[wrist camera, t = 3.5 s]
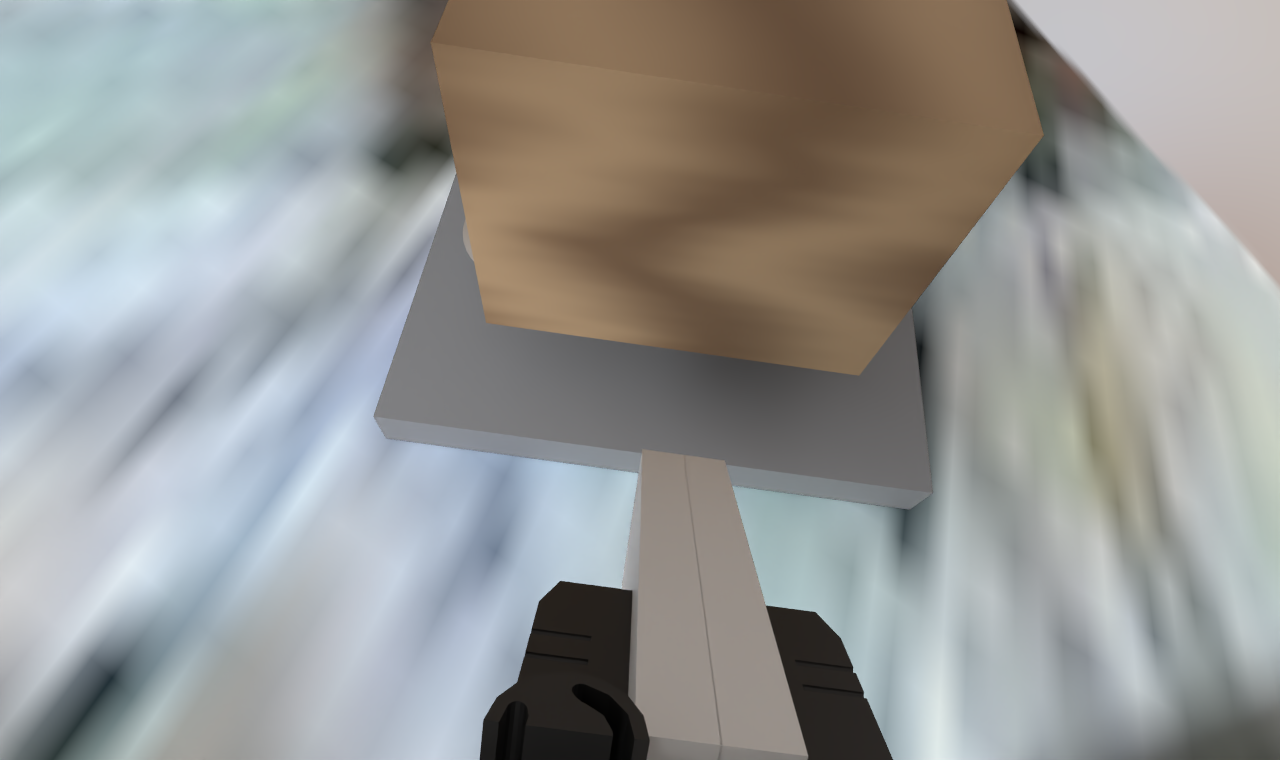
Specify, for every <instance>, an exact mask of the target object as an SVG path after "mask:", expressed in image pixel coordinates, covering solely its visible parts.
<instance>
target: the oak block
mask: <svg viewBox="0 0 1280 760" xmlns="http://www.w3.org/2000/svg"><path fill="white" fill-rule="evenodd" d="M431 46H432V51H433V56H434V61H435V66H436V71H437V76H438V81H439V87H440V92H441V97H442V102H443V107H444V112H445V117H446V122H447V127H448V132H449V137H450V142H451V147H452V152H453V158H454V163H455V168H456V173H457V178H458V183H459V188H460V193H461V198H462V203H463V208H464V213H465V218H466V219H465V222H464V226H463V242H464V245H465V248H466V251H467V253H468V254H469V256H470V258H471V259H472V260H473V261H474V264H475V269H476V274H477V279H478V284H479V289H480V295H481V300H482V305H483V310H484V315H485V320H486V323H489V324H497V325H504V326H511V327H518V328H525V329H532V330H539V331H546V332H553V333H560V334H567V335H575V336H582V337H589V338H596V339H603V340H610V341H617V342H624V343H631V344H638V345H645V346H653V347H660V348H667V349H674V350H681V351H688V352H695V353H702V354H709V355H716V356H723V357H731V358H738V359H745V360H752V361H759V362H766V363H773V364H780V365H787V366H794V367H801V368H808V369H816V370H823V371H830V372H837V373H844V374H851V375H858V376H859V375H860V374H861V373H862V371H863V370H864V369H865V367H866V366H867V365H868V364H869V362H870V361H871V360H872V358H873V357H874V356H875V354H876V353H877V352H878V351H879V349H880V348H881V347H882V345H883V344H884V343H885V341H886V340H887V339H888V337H889V336H890V335H891V334H892V332H893V331H894V330H895V328H896V327H897V326H898V324H899V323H900V322H901V321H902V319H903V318H904V317H905V315H906V314H907V313H908V311H909V310H910V309H911V308H912V306H913V305H914V304H915V302H916V301H917V300H918V298H919V297H920V296H921V295H922V293H923V292H924V291H925V289H926V288H927V287H928V285H929V284H930V283H931V282H932V280H933V279H934V278H935V276H936V275H937V274H938V272H939V271H940V270H941V268H942V267H943V266H944V265H945V263H946V262H947V261H948V259H949V258H950V257H951V255H952V254H953V253H954V252H955V250H956V249H957V248H958V246H959V245H960V244H961V242H962V241H963V240H964V239H965V237H966V236H967V235H968V233H969V232H970V231H971V229H972V228H973V227H974V226H975V224H976V223H977V222H978V220H979V219H980V218H981V216H982V215H983V214H984V213H985V211H986V210H987V209H988V207H989V206H990V205H991V203H992V202H993V201H994V199H995V198H996V197H997V196H998V194H999V193H1000V192H1001V190H1002V189H1003V188H1004V186H1005V185H1006V184H1007V183H1008V181H1009V180H1010V179H1011V177H1012V176H1013V175H1014V173H1015V172H1016V171H1017V170H1018V168H1019V167H1020V166H1021V164H1022V163H1023V162H1024V160H1025V159H1026V158H1027V157H1028V155H1029V154H1030V153H1031V151H1032V150H1033V149H1034V147H1035V146H1036V145H1037V144H1038V142H1039V141H1040V140H1041V138H1042V137H1043V136H1044V134H1043V130H1042V127H1041V123H1040V119H1039V116H1038V112H1037V109H1036V105H1035V101H1034V98H1033V94H1032V90H1031V87H1030V83H1029V80H1028V76H1027V72H1026V69H1025V65H1024V62H1023V58H1022V54H1021V51H1020V47H1019V43H1018V40H1017V36H1016V33H1015V29H1014V25H1013V22H1012V18H1011V14H1010V11H1009V7H1008V4H1007V0H448V3H447V5H446V8H445V10H444V12H443V15H442V17H441V19H440V22H439V24H438V26H437V29H436V31H435V33H434V36H433V38H432V41H431Z"/></svg>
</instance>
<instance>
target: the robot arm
mask: <svg viewBox="0 0 1280 760" xmlns="http://www.w3.org/2000/svg"><path fill="white" fill-rule="evenodd" d="M480 760H893V759H892V756H891V754H890V752H889V749H888V747H887V745H886V742H885V740H884V738H883V735H882V733H881V731H880V729H879V726H878V724H877V722H876V719H875V717H874V715H873V712H872V710H871V708H870V705H869V703H868V701H867V699H866V698H864V691H863V689H862V687H861V684H860V682H859V680H858V677H857V675H856V673H853V666H852V663H851V661H850V659H849V656H848V654H847V652H846V649H845V647H844V645H843V643H842V640H841V638H840V637H839V636H838V635H837V634H836V633H835V632H834V631H833V630H832V629H831V628H830V627H829V626H828V625H827V624H826V623H825V622H824V621H823V619H822V618H821V617H820V616H819V615H818V614H817V613H816V612H810V611H803V610H795V609H788V608H780V607H773V606H766V605H765V601H764V598H763V594H762V591H761V587H760V583H759V580H758V576H757V573H756V569H755V566H754V562H753V559H752V555H751V552H750V548H749V545H748V541H747V537H746V534H745V530H744V527H743V523H742V520H741V516H740V513H739V509H738V506H737V502H736V499H735V495H734V491H733V488H732V484H731V481H730V477H729V474H728V470H727V467H726V463H725V461H724V460H717V459H710V458H703V457H696V456H688V455H681V454H674V453H667V452H659V451H652V450H645V449H642V455H641V461H640V468H639V474H638V481H637V488H636V494H635V501H634V507H633V514H632V520H631V527H630V533H629V540H628V546H627V553H626V559H625V566H624V572H623V579H622V589H617V588H609V587H602V586H594V585H587V584H579V583H572V582H564V581H560V582H559V583H558V584H557V585H556V586H555V587H554V588H553V589H552V590H551V591H549V592H548V593H547V594H546V595H545V596H544V597H543V598H542V599H541V600H540V601H539V604H538V608H537V611H536V615H535V619H534V622H533V626H532V631H531V634H530V637H529V641H528V645H527V648H526V653H525V657H524V659H523V663H522V667H521V671H520V674H519V678H518V682H517V683H516V684H514V685H513V686H512V687H510V688H509V689H508V690H506V691H505V692H503V693H502V694H501V695H499V696H498V697H497V698H496V700H495V701H494V703H493V705H492V706H491V708H490V710H489V712H488V713H487V715H486V717H485V718H484V721H483V731H482V742H481V752H480Z"/></svg>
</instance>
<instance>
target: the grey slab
mask: <svg viewBox="0 0 1280 760" xmlns="http://www.w3.org/2000/svg"><path fill="white" fill-rule="evenodd" d="M465 219H466V218H465V213H464V208H463V203H462V198H461V193H460V188H459V183H458V178H457V173H456V176H455V179H454V181H453V184H452V187H451V190H450V193H449V196H448V199H447V202H446V205H445V208H444V211H443V214H442V217H441V220H440V223H439V225H438V228H437V231H436V234H435V237H434V240H433V243H432V246H431V249H430V252H429V255H428V258H427V261H426V264H425V267H424V269H423V272H422V275H421V278H420V281H419V284H418V287H417V290H416V293H415V296H414V299H413V302H412V305H411V308H410V311H409V313H408V316H407V319H406V322H405V325H404V328H403V331H402V334H401V337H400V340H399V343H398V346H397V349H396V352H395V355H394V357H393V360H392V363H391V366H390V369H389V372H388V375H387V378H386V381H385V384H384V387H383V390H382V393H381V396H380V399H379V401H378V404H377V407H376V410H375V413H374V416H373V417H374V419H375V420H376V422H377V424H378V425H379V427H380V429H381V430H382V432H383V434H384V436H385V437H386V438H387V439H394V440H401V441H409V442H416V443H423V444H431V445H438V446H446V447H453V448H460V449H468V450H475V451H482V452H490V453H497V454H504V455H512V456H519V457H526V458H534V459H541V460H548V461H556V462H563V463H570V464H578V465H585V466H593V467H600V468H607V469H615V470H622V471H629V472H637V473H639V468H640V461H641V455H642V449H645V450H652V451H659V452H667V453H674V454H681V455H688V456H696V457H703V458H710V459H717V460H724V461H725V463H726V467H727V470H728V474H729V477H730V481H731V484H732V486H740V487H747V488H754V489H762V490H769V491H776V492H784V493H791V494H798V495H806V496H813V497H820V498H828V499H835V500H842V501H850V502H857V503H865V504H872V505H879V506H887V507H894V508H901V509H909V510H910V509H911V508H913V507H914V506H916V505H917V504H918V503H920V502H921V501H923V500H924V499H925V498H927V497H928V496H930V495H931V494H933V489H932V480H931V471H930V462H929V453H928V445H927V436H926V427H925V418H924V409H923V401H922V392H921V383H920V374H919V365H918V357H917V348H916V339H915V330H914V321H913V312H912V308H911V309H910V310H909V311H908V313H907V314H906V315H905V317H904V318H903V319H902V321H901V322H900V323H899V324H898V326H897V327H896V328H895V330H894V331H893V332H892V334H891V335H890V336H889V337H888V339H887V340H886V341H885V343H884V344H883V345H882V347H881V348H880V349H879V351H878V352H877V353H876V354H875V356H874V357H873V358H872V360H871V361H870V362H869V364H868V365H867V366H866V367H865V369H864V370H863V371H862V373H861V374H860V375H859V376H858V375H851V374H844V373H837V372H830V371H823V370H816V369H808V368H801V367H794V366H787V365H780V364H773V363H766V362H759V361H752V360H745V359H738V358H731V357H723V356H716V355H709V354H702V353H695V352H688V351H681V350H674V349H667V348H660V347H653V346H645V345H638V344H631V343H624V342H617V341H610V340H603V339H596V338H589V337H582V336H575V335H567V334H560V333H553V332H546V331H539V330H532V329H525V328H518V327H511V326H504V325H497V324H489V323H486V320H485V315H484V310H483V305H482V300H481V295H480V289H479V284H478V279H477V274H476V269H475V264H474V261H473V260H472V259H471V258H470V256H469V254H468V253H467V251H466V248H465V245H464V242H463V226H464V222H465Z"/></svg>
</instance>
